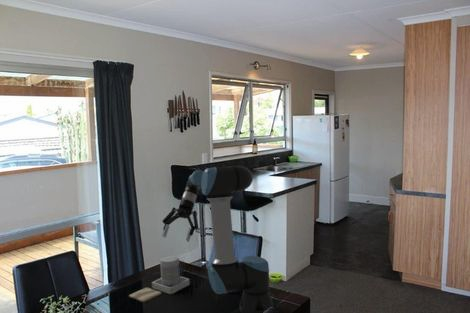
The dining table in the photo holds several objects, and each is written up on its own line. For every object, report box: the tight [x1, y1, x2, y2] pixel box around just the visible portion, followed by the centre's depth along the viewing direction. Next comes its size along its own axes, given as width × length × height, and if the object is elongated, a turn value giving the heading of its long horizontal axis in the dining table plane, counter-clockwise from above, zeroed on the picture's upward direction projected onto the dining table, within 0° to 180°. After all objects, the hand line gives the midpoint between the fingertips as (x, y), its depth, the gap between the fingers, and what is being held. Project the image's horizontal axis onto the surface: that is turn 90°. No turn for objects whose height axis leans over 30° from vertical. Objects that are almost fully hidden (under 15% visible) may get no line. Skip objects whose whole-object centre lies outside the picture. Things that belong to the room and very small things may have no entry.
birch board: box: [128, 287, 162, 303], centre depth 195 cm, size 11×11×1 cm
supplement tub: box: [159, 255, 181, 288], centre depth 204 cm, size 10×10×15 cm
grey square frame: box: [151, 275, 191, 295], centre depth 205 cm, size 14×14×3 cm
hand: (175, 238), depth 206 cm, fingers open, 13 cm apart
